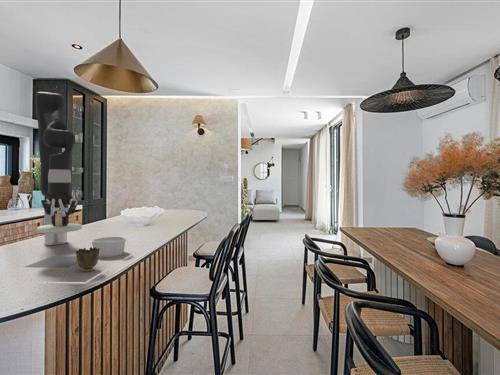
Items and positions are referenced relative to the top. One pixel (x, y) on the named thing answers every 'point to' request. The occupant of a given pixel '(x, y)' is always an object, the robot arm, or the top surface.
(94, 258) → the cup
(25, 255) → the top surface
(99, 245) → the ramekin
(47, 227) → the lid
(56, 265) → the mat
